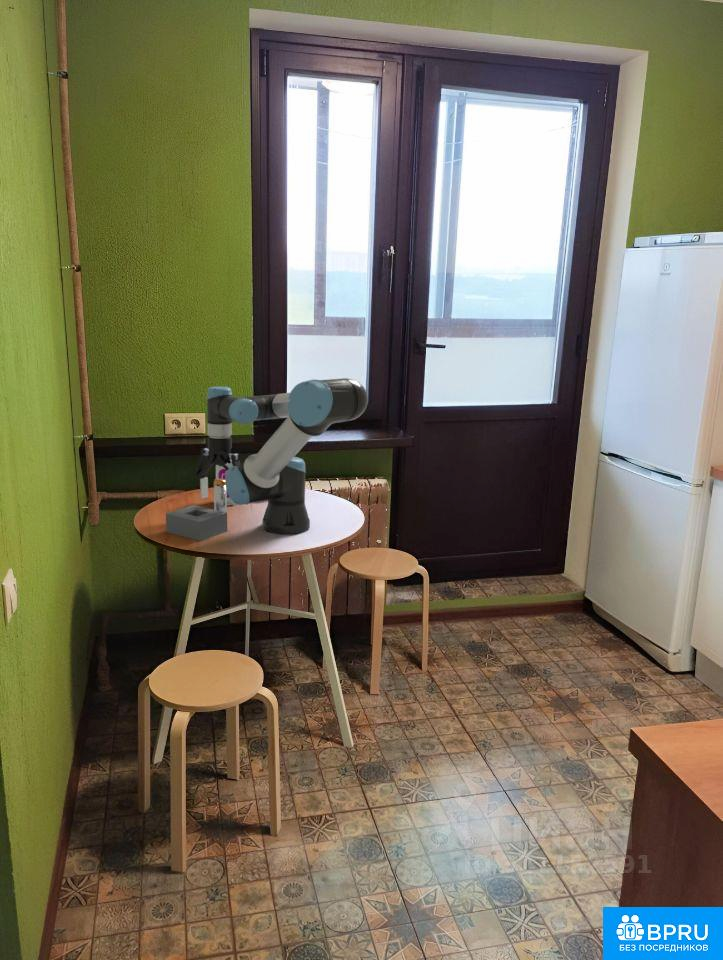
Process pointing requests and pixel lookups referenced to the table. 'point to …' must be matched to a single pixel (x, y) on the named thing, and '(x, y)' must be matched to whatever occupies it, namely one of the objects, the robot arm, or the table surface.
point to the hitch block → (196, 522)
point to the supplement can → (221, 475)
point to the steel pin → (220, 495)
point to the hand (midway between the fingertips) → (220, 501)
